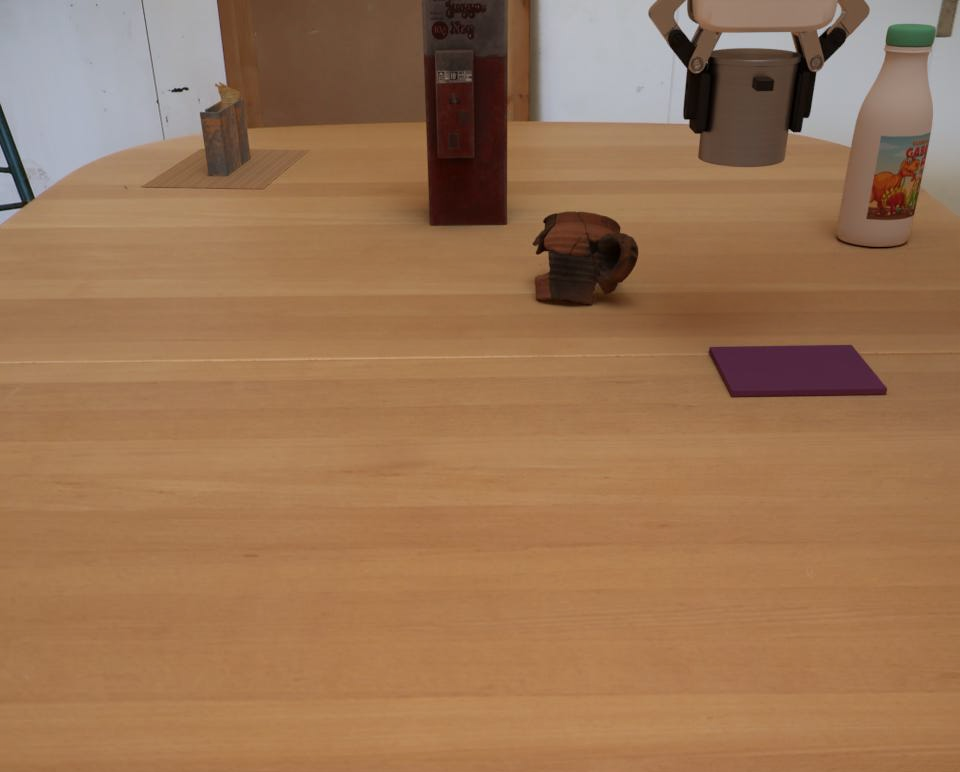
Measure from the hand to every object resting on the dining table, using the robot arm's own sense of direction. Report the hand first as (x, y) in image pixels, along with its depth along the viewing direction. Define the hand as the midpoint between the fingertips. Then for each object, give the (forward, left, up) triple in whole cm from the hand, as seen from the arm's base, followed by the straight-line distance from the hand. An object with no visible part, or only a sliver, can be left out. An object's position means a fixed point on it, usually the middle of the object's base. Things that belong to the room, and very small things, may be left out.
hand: (744, 127), depth 86 cm
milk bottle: (-23, -33, -17) cm, 44 cm away
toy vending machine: (+21, -45, -17) cm, 53 cm away
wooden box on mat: (+54, -75, -17) cm, 94 cm away
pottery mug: (+10, -15, -17) cm, 25 cm away
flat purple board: (-5, +7, -17) cm, 19 cm away
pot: (0, 0, -2) cm, 2 cm away
